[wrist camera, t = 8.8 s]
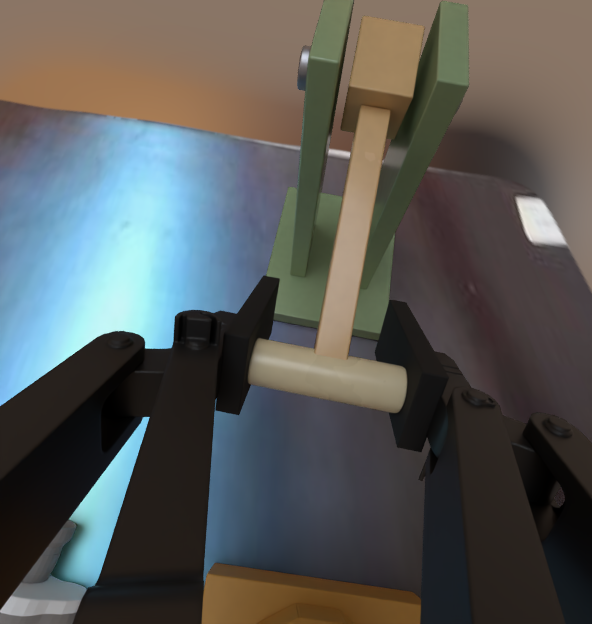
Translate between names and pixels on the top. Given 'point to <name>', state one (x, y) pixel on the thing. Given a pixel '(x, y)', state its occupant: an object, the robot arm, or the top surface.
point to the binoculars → (45, 590)
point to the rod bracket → (393, 176)
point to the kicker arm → (353, 233)
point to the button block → (300, 600)
